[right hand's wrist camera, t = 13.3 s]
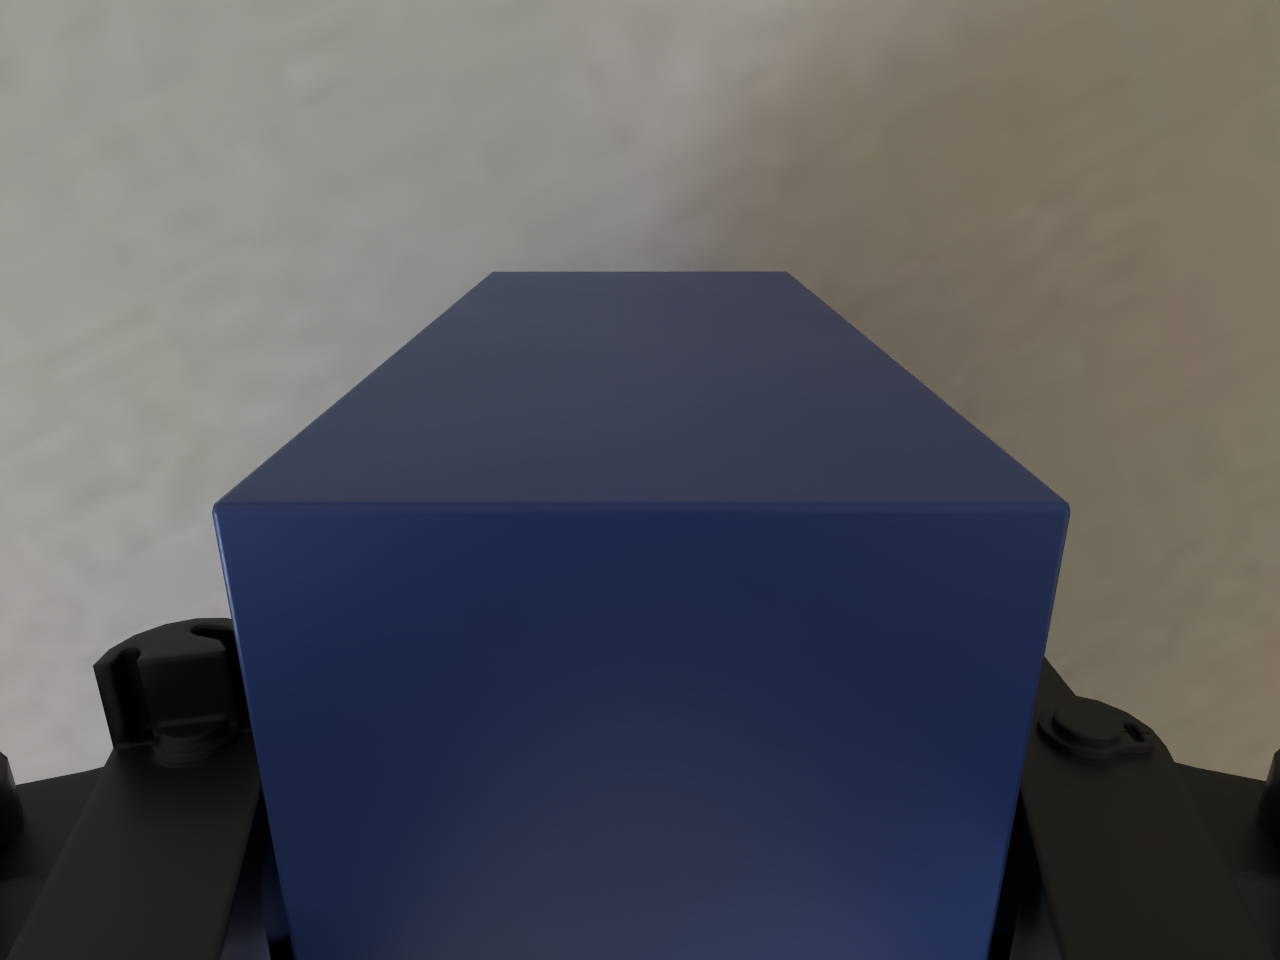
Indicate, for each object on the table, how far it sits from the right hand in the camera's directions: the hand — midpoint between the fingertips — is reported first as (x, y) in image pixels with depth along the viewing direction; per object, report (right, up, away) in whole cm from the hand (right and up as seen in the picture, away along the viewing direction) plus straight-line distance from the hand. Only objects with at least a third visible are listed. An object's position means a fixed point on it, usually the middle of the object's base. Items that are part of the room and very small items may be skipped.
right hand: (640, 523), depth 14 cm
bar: (0, -8, +4) cm, 9 cm away
